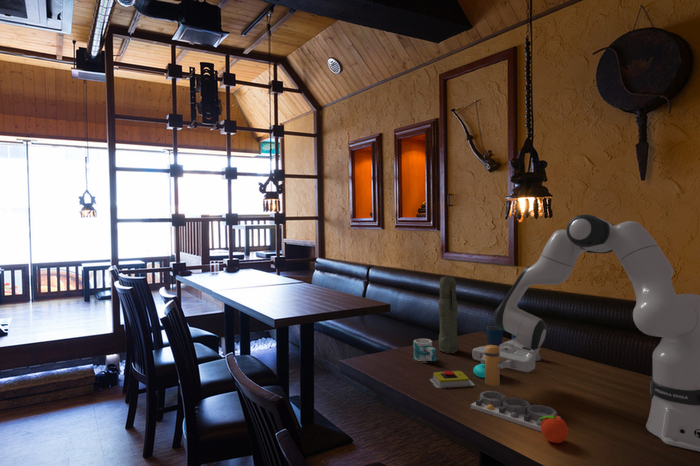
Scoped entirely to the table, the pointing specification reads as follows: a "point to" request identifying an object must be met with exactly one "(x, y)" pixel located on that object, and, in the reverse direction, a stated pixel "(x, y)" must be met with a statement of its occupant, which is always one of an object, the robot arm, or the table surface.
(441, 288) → the thermos
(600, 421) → the table surface
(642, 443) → the table surface
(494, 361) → the orange-brown tall cylinder
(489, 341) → the cup
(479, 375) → the donuts
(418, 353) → the mug
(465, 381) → the emergency button
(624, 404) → the table surface
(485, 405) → the grey piece
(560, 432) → the clementine
